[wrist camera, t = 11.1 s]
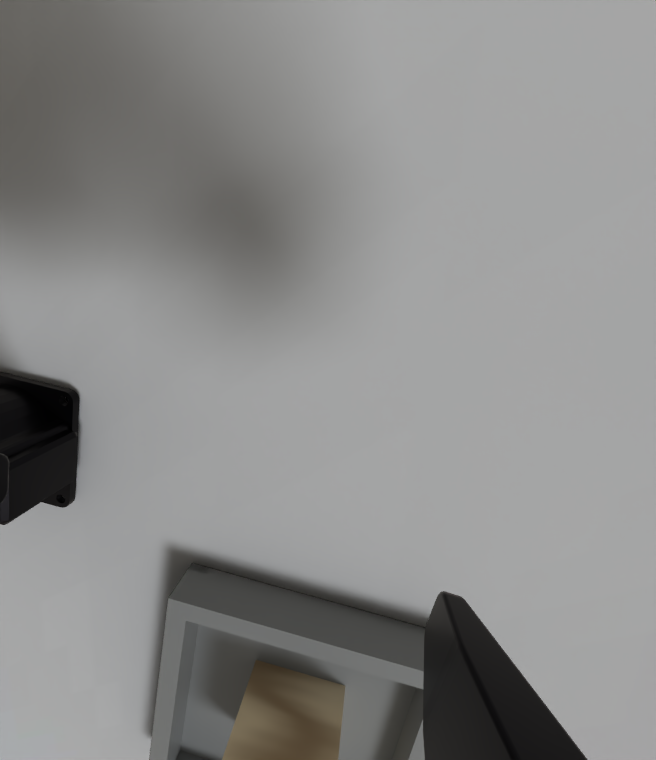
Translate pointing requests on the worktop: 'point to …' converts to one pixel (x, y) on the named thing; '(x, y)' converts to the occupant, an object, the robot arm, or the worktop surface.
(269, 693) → the maple block
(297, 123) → the worktop surface
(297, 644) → the tray
